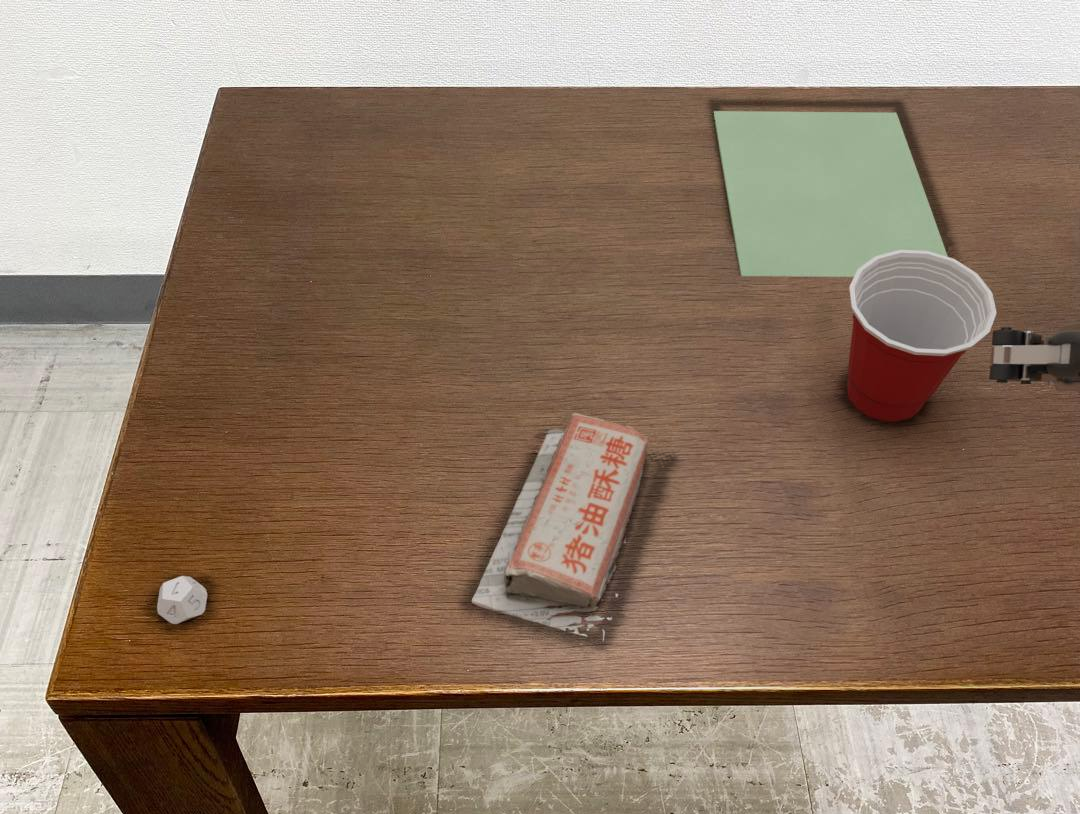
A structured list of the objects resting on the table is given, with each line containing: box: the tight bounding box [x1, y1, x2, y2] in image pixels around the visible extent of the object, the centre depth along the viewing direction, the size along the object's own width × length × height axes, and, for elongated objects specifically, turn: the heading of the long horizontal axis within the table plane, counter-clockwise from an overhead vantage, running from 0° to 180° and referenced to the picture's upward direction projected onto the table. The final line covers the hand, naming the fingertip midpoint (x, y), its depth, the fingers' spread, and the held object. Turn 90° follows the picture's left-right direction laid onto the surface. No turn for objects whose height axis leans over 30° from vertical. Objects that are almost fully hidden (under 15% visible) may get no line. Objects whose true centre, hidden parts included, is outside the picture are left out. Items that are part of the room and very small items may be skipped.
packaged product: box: [471, 412, 649, 642], centre depth 77 cm, size 18×5×10 cm
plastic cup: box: [846, 250, 998, 423], centre depth 82 cm, size 11×11×12 cm
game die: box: [156, 575, 208, 625], centre depth 73 cm, size 4×4×3 cm
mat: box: [713, 110, 949, 278], centre depth 103 cm, size 20×32×1 cm, turn 0°
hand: (1032, 361), depth 60 cm, fingers closed
